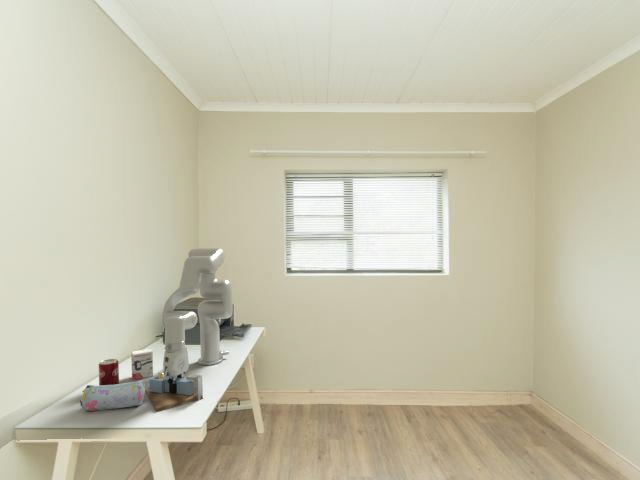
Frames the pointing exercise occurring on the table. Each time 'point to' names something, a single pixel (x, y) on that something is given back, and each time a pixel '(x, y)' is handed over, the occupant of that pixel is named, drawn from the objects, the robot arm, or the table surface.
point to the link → (163, 386)
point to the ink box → (142, 363)
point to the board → (168, 399)
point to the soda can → (109, 372)
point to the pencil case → (112, 396)
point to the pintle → (160, 375)
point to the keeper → (197, 385)
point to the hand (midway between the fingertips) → (176, 390)
